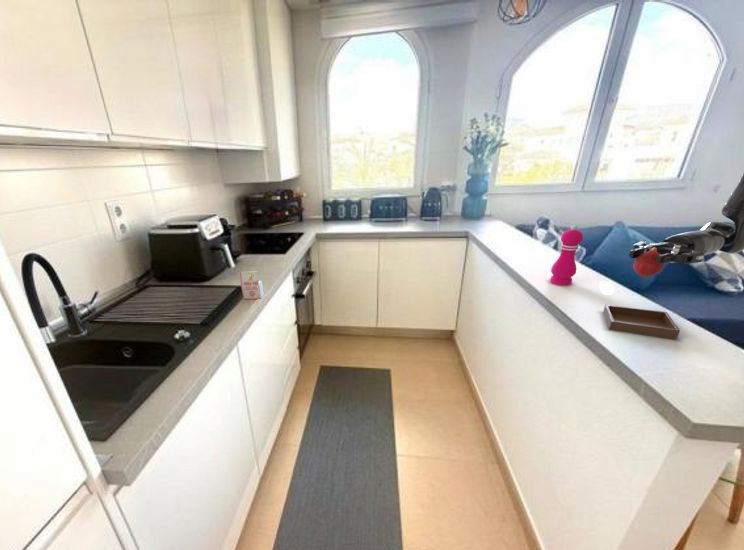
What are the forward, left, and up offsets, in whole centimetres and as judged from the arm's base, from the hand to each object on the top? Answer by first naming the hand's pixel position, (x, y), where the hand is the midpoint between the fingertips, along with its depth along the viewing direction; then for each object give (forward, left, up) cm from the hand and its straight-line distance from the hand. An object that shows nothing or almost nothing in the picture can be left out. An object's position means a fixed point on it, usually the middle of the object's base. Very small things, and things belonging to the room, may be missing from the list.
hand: (645, 257), depth 87 cm
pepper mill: (+14, -25, -18) cm, 34 cm away
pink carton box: (+111, +25, -18) cm, 115 cm away
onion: (-2, -2, -6) cm, 7 cm away
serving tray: (-2, +3, -18) cm, 18 cm away
